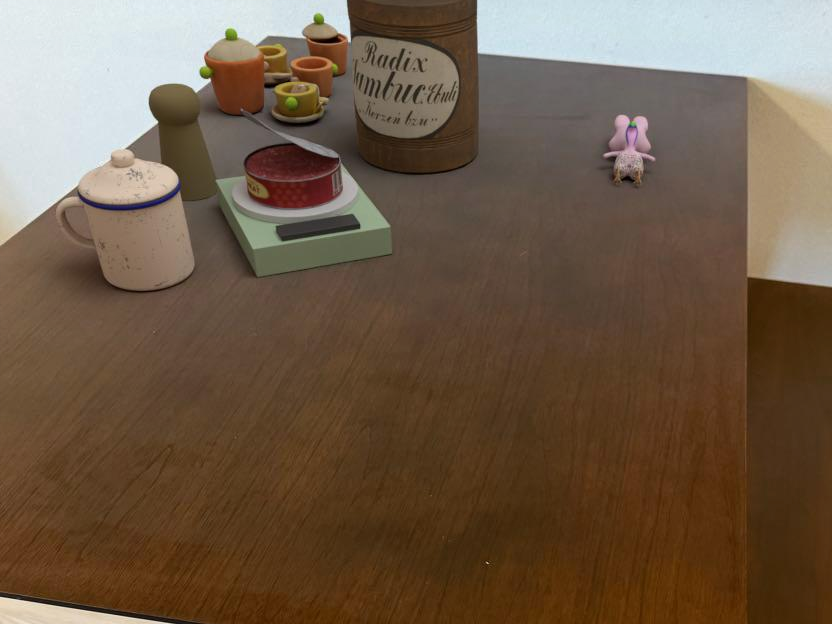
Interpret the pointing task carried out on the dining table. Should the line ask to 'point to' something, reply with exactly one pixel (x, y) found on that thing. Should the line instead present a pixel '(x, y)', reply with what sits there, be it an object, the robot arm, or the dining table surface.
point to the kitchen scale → (304, 229)
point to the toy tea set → (277, 73)
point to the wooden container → (415, 82)
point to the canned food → (292, 173)
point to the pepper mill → (183, 139)
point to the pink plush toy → (629, 147)
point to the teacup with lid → (133, 222)
